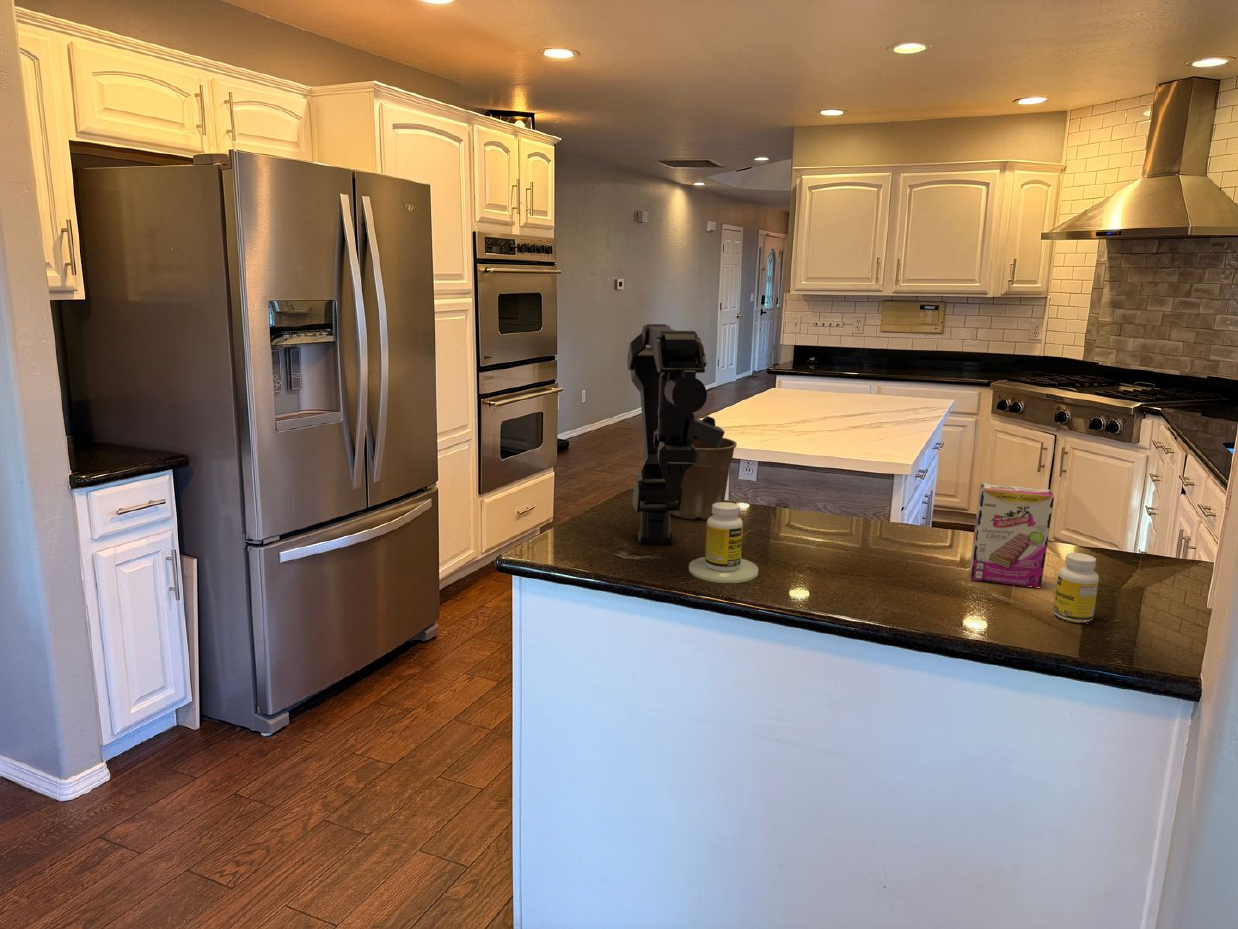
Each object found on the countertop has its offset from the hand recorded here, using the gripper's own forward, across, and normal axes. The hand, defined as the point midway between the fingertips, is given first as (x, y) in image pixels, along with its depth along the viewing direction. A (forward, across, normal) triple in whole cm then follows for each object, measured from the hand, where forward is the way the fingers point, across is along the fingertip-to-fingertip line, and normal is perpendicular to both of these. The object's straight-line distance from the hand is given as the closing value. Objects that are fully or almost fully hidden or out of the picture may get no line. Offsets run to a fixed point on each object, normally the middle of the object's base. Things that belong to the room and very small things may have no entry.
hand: (672, 492), depth 146 cm
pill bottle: (+12, -4, -9) cm, 16 cm away
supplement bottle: (+13, -23, -60) cm, 66 cm away
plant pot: (+13, +34, -8) cm, 37 cm away
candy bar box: (+13, -7, -57) cm, 59 cm away
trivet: (+13, -4, -9) cm, 16 cm away
